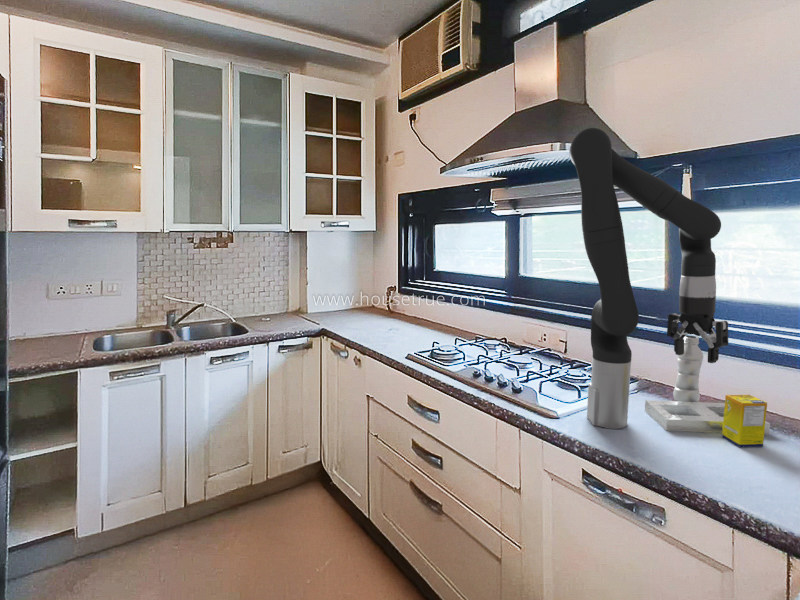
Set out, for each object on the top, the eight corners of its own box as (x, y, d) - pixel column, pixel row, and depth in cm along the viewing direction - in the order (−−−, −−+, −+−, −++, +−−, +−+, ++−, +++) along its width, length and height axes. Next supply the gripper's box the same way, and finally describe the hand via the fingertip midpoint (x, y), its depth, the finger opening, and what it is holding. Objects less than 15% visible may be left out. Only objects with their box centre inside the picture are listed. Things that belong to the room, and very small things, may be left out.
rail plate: (666, 430, 120) (667, 419, 120) (644, 410, 134) (645, 400, 133) (768, 435, 117) (770, 423, 117) (736, 413, 131) (737, 403, 131)
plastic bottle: (668, 399, 143) (673, 334, 140) (692, 400, 142) (698, 334, 139) (678, 407, 136) (683, 339, 134) (703, 408, 135) (709, 339, 133)
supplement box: (744, 436, 116) (748, 393, 115) (763, 447, 110) (768, 402, 109) (720, 437, 116) (724, 394, 115) (738, 448, 110) (743, 402, 109)
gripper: (660, 292, 120) (659, 354, 123) (715, 298, 107) (712, 368, 109) (681, 289, 123) (680, 350, 125) (737, 295, 110) (734, 362, 112)
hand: (695, 358), depth 117 cm, fingers open, 8 cm apart
